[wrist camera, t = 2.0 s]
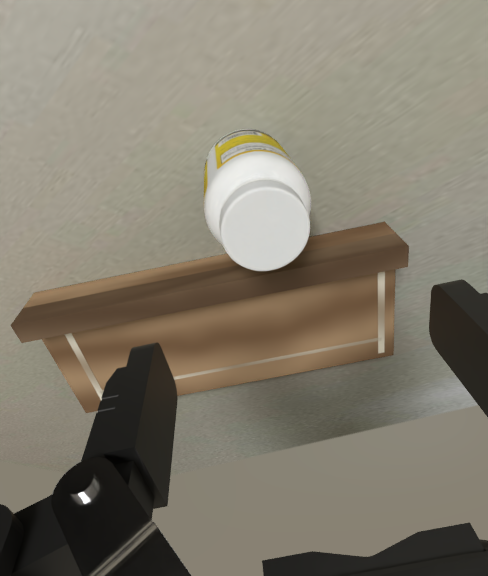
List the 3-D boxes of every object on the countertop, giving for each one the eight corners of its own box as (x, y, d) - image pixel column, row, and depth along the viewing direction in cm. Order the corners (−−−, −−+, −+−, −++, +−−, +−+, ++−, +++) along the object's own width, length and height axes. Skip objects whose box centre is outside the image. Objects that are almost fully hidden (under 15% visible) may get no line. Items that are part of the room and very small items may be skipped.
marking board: (34, 292, 29) (10, 325, 25) (384, 221, 28) (408, 246, 24) (92, 395, 35) (79, 432, 31) (384, 339, 34) (403, 372, 30)
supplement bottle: (255, 225, 27) (274, 304, 19) (188, 181, 25) (177, 247, 17) (305, 161, 25) (351, 217, 17) (236, 107, 23) (251, 141, 15)
